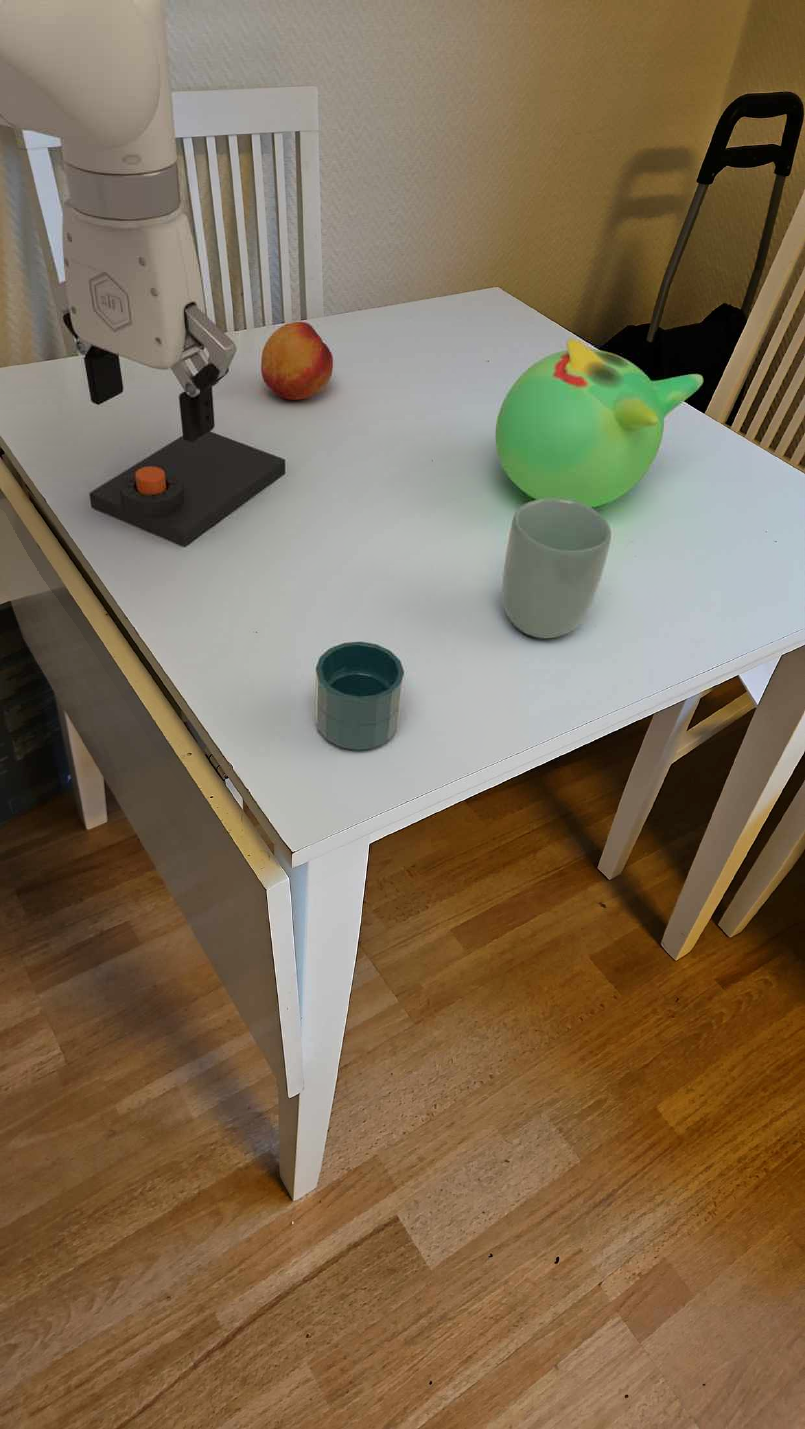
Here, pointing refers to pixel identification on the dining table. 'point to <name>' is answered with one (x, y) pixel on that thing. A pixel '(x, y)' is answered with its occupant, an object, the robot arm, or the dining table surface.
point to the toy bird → (584, 424)
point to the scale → (190, 486)
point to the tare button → (150, 480)
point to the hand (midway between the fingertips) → (152, 416)
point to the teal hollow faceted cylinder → (358, 695)
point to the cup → (553, 565)
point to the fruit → (296, 361)
